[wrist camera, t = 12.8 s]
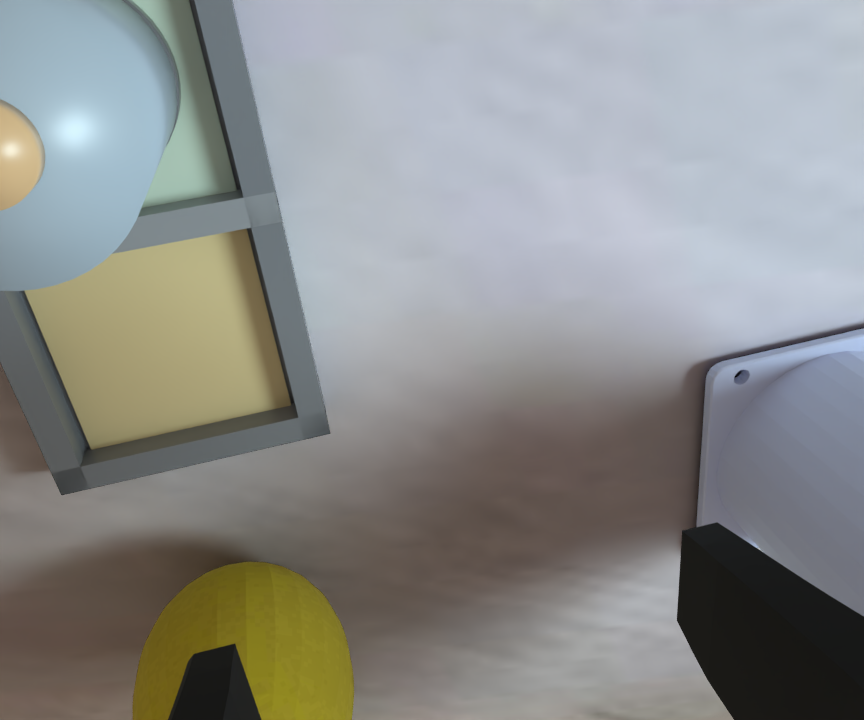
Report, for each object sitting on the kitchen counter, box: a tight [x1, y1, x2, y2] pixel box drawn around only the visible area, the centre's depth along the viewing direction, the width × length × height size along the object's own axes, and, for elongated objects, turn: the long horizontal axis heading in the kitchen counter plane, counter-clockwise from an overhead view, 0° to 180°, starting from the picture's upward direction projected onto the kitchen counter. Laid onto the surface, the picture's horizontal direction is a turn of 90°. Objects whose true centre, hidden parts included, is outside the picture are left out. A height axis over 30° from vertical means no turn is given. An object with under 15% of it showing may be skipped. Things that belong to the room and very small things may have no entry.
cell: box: [0, 0, 181, 291], centre depth 13 cm, size 4×4×7 cm
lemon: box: [133, 562, 354, 720], centre depth 20 cm, size 6×6×8 cm
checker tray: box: [0, 0, 330, 495], centre depth 17 cm, size 7×12×1 cm, turn 7°
